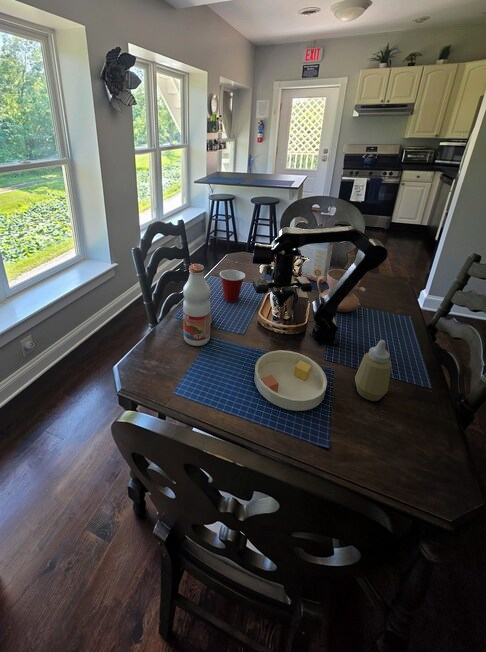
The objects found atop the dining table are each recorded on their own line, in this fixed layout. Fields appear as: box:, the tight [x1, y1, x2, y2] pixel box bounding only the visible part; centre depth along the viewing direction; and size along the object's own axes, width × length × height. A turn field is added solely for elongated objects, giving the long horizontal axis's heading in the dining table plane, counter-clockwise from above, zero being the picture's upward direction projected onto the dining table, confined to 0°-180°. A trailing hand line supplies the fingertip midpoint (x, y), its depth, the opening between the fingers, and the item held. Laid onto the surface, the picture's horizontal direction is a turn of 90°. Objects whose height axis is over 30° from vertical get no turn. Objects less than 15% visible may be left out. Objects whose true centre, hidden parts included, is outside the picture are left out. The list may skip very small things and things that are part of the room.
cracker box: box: [298, 242, 334, 284], centre depth 152 cm, size 14×6×21 cm, turn 46°
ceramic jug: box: [316, 268, 366, 313], centre depth 129 cm, size 18×14×14 cm
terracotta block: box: [261, 375, 279, 393], centre depth 90 cm, size 4×4×4 cm
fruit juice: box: [182, 263, 212, 347], centre depth 108 cm, size 9×9×28 cm
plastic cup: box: [219, 269, 246, 303], centre depth 136 cm, size 11×11×12 cm
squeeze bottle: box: [354, 339, 392, 402], centre depth 86 cm, size 8×8×18 cm
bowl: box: [253, 349, 328, 412], centre depth 93 cm, size 20×20×4 cm
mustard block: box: [294, 361, 311, 381], centre depth 95 cm, size 4×4×4 cm
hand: (279, 306), depth 111 cm, fingers closed
